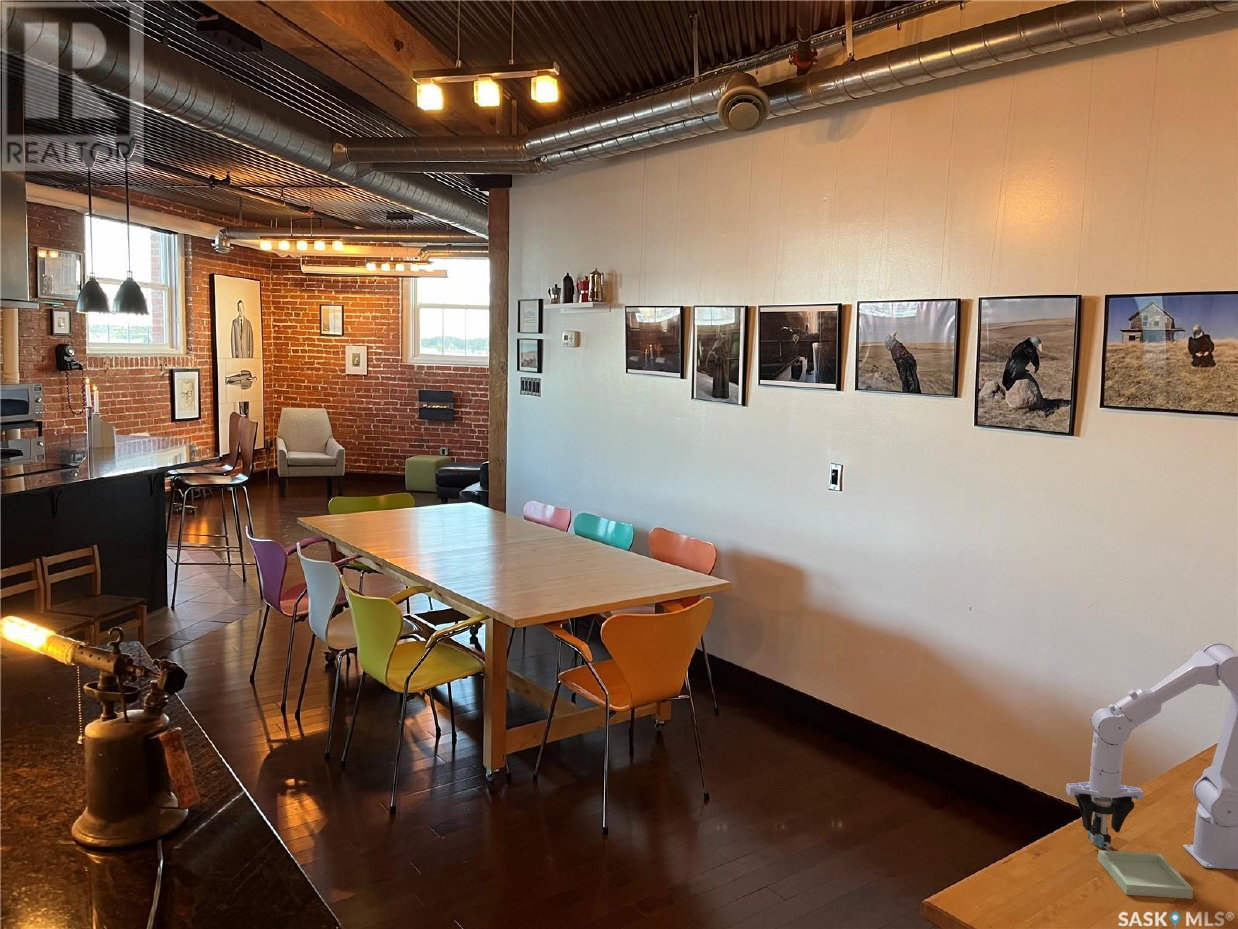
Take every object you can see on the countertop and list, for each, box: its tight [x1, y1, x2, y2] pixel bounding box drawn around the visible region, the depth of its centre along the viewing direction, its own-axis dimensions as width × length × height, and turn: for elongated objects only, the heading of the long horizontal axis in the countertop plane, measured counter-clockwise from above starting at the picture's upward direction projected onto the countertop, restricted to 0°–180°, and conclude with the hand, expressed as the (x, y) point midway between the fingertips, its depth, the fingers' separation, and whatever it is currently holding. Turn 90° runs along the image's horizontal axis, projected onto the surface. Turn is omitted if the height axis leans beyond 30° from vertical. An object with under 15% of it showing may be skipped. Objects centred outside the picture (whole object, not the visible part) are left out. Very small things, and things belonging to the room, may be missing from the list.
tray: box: [1097, 849, 1194, 900], centre depth 174 cm, size 12×12×2 cm
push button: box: [1087, 796, 1116, 851], centre depth 185 cm, size 7×5×10 cm
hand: (1101, 829), depth 186 cm, fingers closed on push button, 5 cm apart
